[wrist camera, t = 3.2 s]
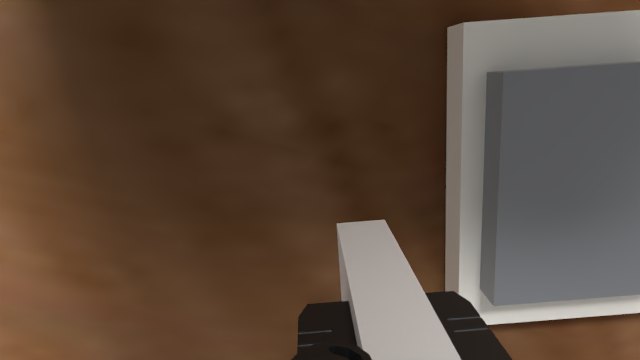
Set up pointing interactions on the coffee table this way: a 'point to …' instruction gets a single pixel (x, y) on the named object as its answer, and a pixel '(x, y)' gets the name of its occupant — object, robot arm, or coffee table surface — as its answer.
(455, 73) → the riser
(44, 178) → the coffee table surface
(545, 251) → the coaster
